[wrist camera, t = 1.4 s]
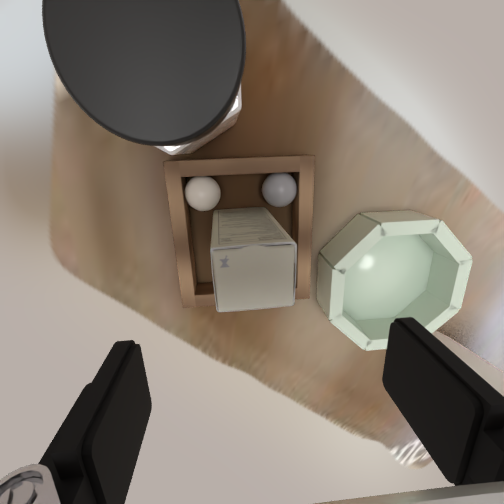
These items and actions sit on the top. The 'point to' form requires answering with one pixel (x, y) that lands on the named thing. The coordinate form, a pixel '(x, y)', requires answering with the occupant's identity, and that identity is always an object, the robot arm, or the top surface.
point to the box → (251, 260)
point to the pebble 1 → (202, 193)
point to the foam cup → (475, 362)
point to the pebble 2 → (279, 189)
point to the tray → (230, 166)
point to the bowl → (391, 275)
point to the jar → (151, 66)
